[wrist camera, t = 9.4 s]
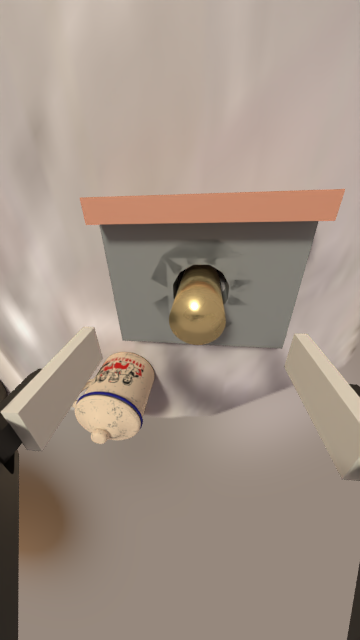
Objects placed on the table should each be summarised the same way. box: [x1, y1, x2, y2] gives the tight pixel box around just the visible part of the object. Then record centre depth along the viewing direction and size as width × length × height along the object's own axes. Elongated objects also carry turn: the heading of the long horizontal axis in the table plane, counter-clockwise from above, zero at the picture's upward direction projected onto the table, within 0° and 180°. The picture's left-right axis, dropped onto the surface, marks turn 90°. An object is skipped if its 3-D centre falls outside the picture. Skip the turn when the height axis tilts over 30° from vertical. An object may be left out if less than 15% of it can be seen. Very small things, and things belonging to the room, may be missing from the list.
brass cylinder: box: [169, 264, 226, 345], centre depth 21 cm, size 5×5×10 cm
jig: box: [80, 189, 345, 349], centre depth 22 cm, size 20×16×6 cm
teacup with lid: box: [72, 352, 154, 444], centre depth 29 cm, size 12×9×12 cm
